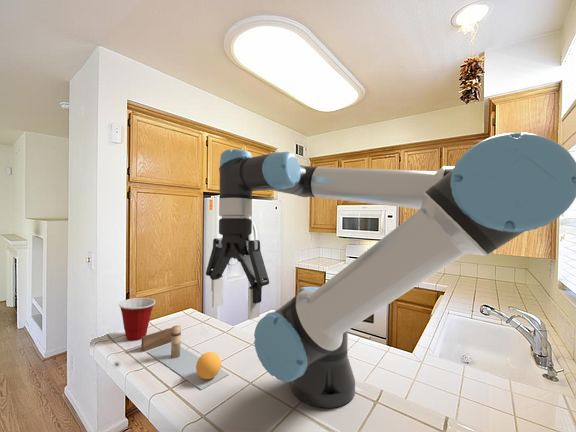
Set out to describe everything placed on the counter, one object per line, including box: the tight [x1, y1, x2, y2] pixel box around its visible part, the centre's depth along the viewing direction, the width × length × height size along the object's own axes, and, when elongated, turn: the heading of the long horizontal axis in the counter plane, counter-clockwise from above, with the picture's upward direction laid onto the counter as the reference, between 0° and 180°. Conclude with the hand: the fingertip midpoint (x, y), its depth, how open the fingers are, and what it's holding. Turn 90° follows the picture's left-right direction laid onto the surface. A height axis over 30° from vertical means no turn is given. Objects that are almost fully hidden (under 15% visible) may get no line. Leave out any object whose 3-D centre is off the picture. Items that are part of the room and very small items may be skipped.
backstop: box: [140, 327, 172, 353], centre depth 82 cm, size 2×9×4 cm, turn 142°
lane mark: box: [146, 342, 230, 391], centre depth 72 cm, size 28×8×1 cm, turn 52°
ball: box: [196, 351, 222, 379], centre depth 65 cm, size 6×6×6 cm
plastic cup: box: [118, 297, 156, 342], centre depth 88 cm, size 11×11×12 cm
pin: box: [170, 325, 182, 358], centre depth 75 cm, size 2×2×8 cm
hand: (234, 311), depth 60 cm, fingers open, 12 cm apart
